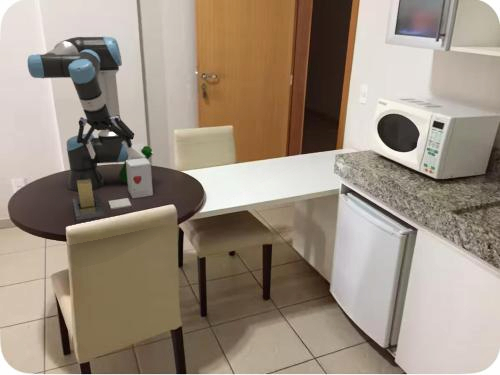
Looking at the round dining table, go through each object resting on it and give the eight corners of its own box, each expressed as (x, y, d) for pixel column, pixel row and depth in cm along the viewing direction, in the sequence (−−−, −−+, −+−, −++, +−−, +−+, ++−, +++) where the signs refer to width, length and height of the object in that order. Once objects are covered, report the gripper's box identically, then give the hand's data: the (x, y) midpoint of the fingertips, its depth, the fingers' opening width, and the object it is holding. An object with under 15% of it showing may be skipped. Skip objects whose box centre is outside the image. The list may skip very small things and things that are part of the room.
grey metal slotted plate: (73, 203, 177) (72, 198, 176) (98, 199, 181) (97, 195, 180) (76, 220, 161) (75, 215, 161) (103, 216, 165) (103, 211, 165)
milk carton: (129, 187, 195) (145, 154, 185) (115, 175, 196) (130, 142, 186) (141, 181, 203) (157, 149, 193) (127, 169, 204) (142, 137, 194)
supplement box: (132, 199, 182) (129, 165, 176) (128, 192, 189) (124, 159, 184) (153, 195, 185) (151, 162, 180) (148, 188, 193) (145, 157, 187)
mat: (108, 202, 178) (108, 200, 178) (128, 199, 181) (127, 198, 181) (111, 209, 171) (111, 208, 171) (131, 206, 174) (131, 204, 174)
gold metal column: (81, 208, 172) (76, 180, 168) (93, 206, 174) (90, 178, 170) (82, 213, 168) (77, 184, 164) (95, 210, 170) (91, 182, 166)
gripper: (54, 114, 140) (75, 164, 155) (129, 109, 140) (143, 159, 155) (60, 102, 146) (80, 151, 160) (132, 97, 146) (146, 146, 160)
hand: (111, 155), depth 157 cm, fingers open, 13 cm apart
